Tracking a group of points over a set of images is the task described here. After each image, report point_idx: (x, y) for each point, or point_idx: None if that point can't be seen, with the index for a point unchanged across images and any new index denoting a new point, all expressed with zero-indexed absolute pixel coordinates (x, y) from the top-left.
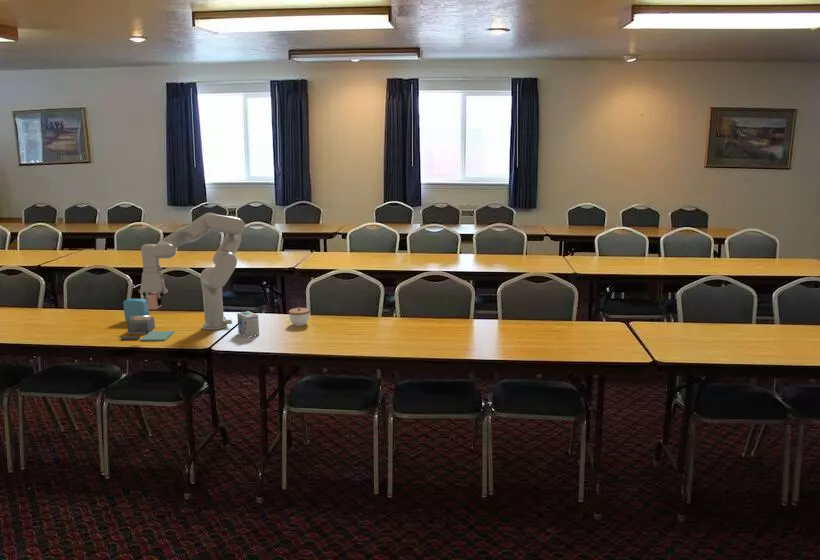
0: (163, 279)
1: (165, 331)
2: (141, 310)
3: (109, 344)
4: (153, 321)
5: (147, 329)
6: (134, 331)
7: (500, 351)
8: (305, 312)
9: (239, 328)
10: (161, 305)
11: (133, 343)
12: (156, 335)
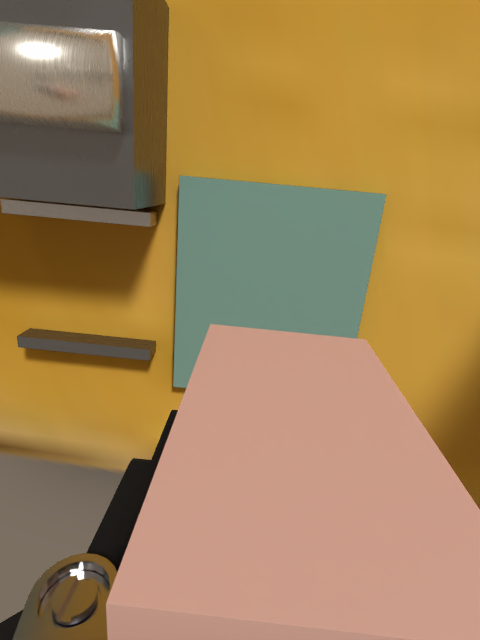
0: None
1: (307, 199)
2: None
3: (6, 416)
4: (146, 5)
5: (154, 205)
6: (51, 205)
7: None
8: None
9: None
10: (366, 344)
11: (148, 419)
12: (260, 306)
